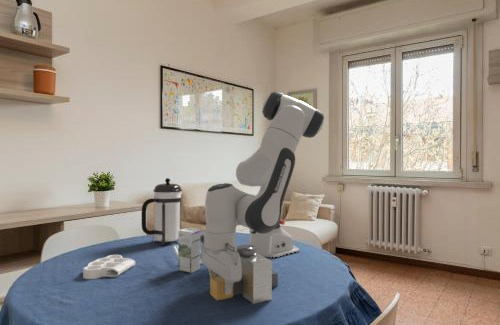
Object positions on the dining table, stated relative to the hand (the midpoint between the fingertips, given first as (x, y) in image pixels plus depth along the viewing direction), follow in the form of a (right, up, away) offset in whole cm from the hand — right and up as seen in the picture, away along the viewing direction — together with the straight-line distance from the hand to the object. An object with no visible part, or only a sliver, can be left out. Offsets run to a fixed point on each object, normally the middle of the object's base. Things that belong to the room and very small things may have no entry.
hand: (220, 288), depth 100 cm
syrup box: (-13, -2, +23) cm, 27 cm away
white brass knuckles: (-41, -2, +22) cm, 47 cm away
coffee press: (-31, -1, +61) cm, 69 cm away
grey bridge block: (+7, -2, +5) cm, 9 cm away
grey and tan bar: (+7, -2, +4) cm, 9 cm away
